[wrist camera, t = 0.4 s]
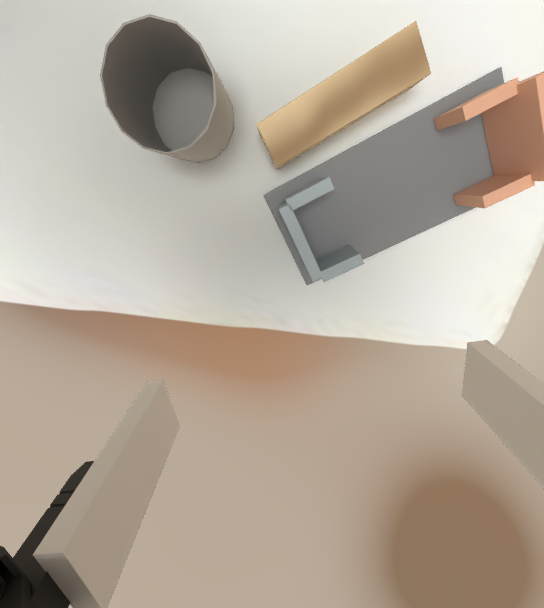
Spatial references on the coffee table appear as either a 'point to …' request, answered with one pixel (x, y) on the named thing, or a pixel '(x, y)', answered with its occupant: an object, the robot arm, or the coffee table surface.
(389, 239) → the seat
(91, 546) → the robot arm
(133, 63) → the cup
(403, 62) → the tan wooden block
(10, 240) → the coffee table surface
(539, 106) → the endcap
